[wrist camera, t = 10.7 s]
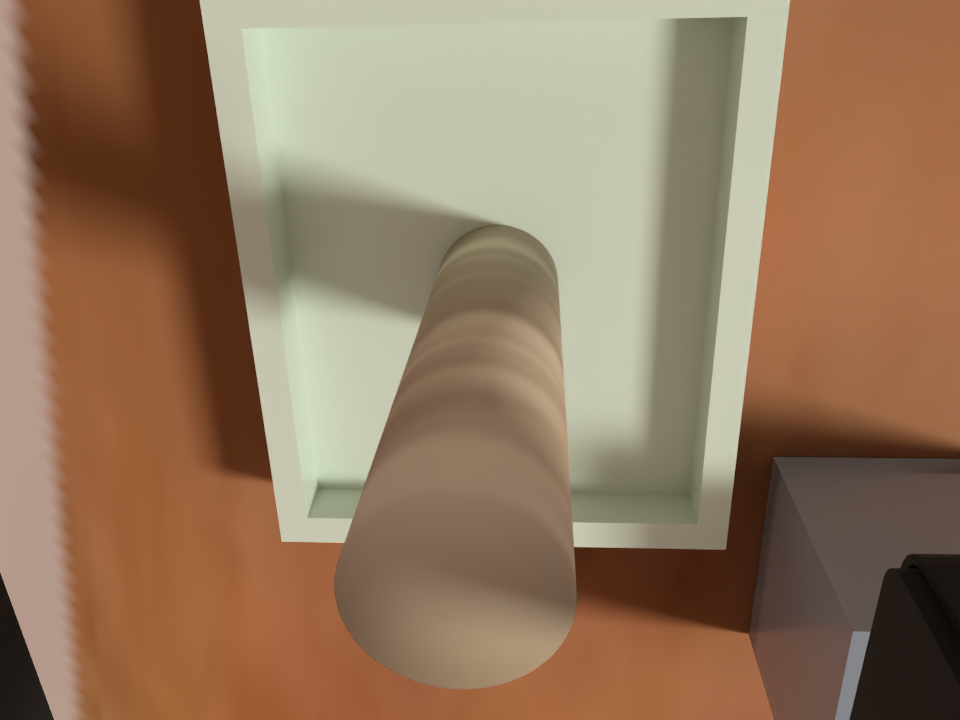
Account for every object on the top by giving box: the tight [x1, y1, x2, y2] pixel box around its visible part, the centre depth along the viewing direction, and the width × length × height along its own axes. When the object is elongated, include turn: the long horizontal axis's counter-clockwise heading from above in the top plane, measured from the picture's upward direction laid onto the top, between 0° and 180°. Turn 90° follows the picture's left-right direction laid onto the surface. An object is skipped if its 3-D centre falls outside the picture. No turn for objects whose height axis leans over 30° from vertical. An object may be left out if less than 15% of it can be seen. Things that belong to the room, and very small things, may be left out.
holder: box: [749, 457, 960, 720], centre depth 23 cm, size 7×7×7 cm
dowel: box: [334, 225, 577, 689], centre depth 16 cm, size 3×3×12 cm
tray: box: [200, 0, 790, 550], centre depth 22 cm, size 14×12×3 cm
